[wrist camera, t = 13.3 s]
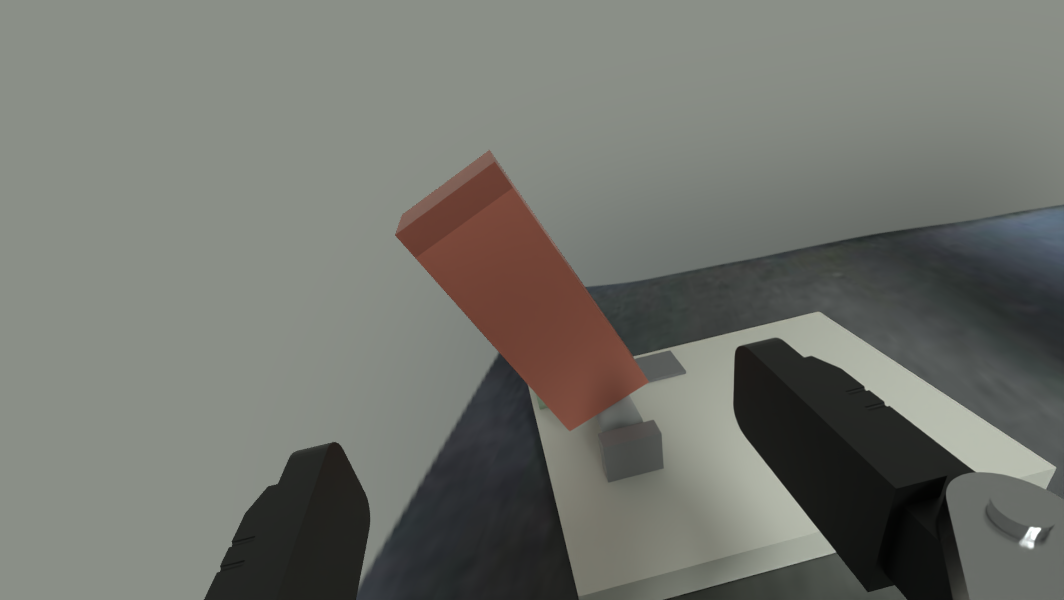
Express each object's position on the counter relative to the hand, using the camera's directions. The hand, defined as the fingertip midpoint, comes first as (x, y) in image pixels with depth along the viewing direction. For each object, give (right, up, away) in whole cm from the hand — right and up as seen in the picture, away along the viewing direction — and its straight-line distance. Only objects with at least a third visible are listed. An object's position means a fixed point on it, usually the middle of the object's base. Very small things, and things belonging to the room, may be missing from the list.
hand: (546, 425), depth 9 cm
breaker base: (+9, -4, +13) cm, 16 cm away
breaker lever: (+3, -2, +12) cm, 12 cm away
